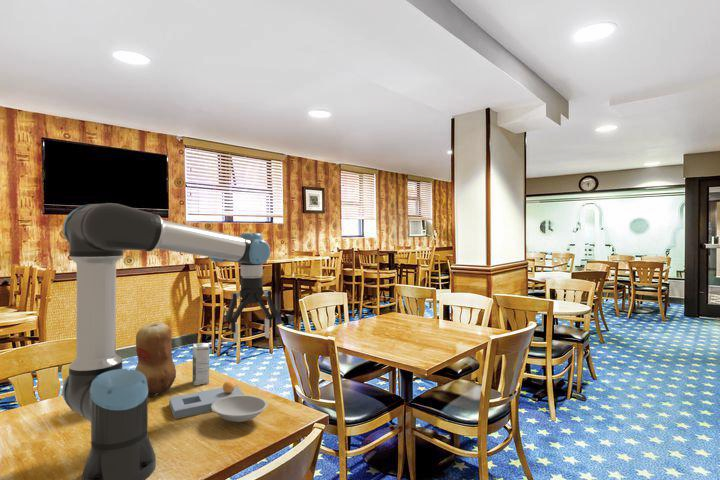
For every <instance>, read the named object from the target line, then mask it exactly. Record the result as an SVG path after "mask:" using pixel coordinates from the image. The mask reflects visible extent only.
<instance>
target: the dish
mask: <svg viewBox="0 0 720 480" xmlns="http://www.w3.org/2000/svg"><path fill="white" fill-rule="evenodd" d="M267 408H268V402H267V400H265V399H264V398H262V397H260V396H255V395H248V394H244V395H235V396H228V397H224V398H221V399H218V400H216V401H215V402H213V403H212V405H211V409H212V410H213V411H212V412H214V413H215V414H217V415H218V416H219V417H220V418H221V419H224V420H226V421H228V422H232V423H242V422H247V421H251V420H253V419H255V418H257V417H258V416H259V415H260V414H261V413H263V411H265V410H267Z"/></svg>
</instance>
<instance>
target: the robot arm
mask: <svg viewBox="0 0 720 480" xmlns="http://www.w3.org/2000/svg"><path fill="white" fill-rule="evenodd" d="M62 231H63V236H64V237H65V240H66V241H67V242H68V243H69V244H68V245H69V246H68V249H69V253H68V254H69V259H71V260H72V261H73V262H74V263H75V264H76V322H75V323H76V330H75V331H76V335H75V336H76V339H75V340H76V342H75V343H76V347H75V348H76V349H75V351H76V353H75V354H76V355H75V359H73V361H71V362H70V363H69V365H68V376H67V377H66V378H65V380H64V382H63V385H62V397H63V399H64V402H65V403H66V405H67V406H68V407H69V409H70V410H71V411H73V412H75V413H77V414H78V415H80V416H82V417H83V418H84V419H86V420H87V421H89V422H90V442H91V443H90V450H89V453H88V456H87V459H86V461H85V465H84V468H83V470H82V477H81V479H82V480H146V479H147V478H149V477H150V475H152V473H153V472H154V471H155V469H156V465H157V462H156V461H157V460H156V458H157V457H156V453H155V450H154V448H153V446H152V442H151V440H150V438H149V435H148V431H149V430H148V426H149V425H148V423H149V422H148V420H149V419H148V418H149V417H148V414H149V413H148V410H149V409H148V406H149V405H148V404H149V403H148V399H149V397H148V396H149V395H148V386H147V379H146V377H145V375H144V374H143V373H141V372H139V371H137V370H135V369H128V368H123V358H122V357H121V356H120V355H119V354H117V350H116V349H117V348H116V347H117V346H116V345H117V343H116V342H117V340H116V339H117V337H116V336H117V334H116V333H117V328H116V327H117V325H116V324H117V262H119V261H120V260H121V259H122V258H124V257H123V256H124V251H142V252H149V253H150V252H153V251H154V250H156V249H157V250H162V251H167V252H168V251H169V252H176V253H181V254H189V255H196V256H201V257H207V258H209V259H210V261H211V262H214V263H225V262H226V263H227V262H228V263H239V264H240V277H241V278H240V290H239V292H231V294H230V295H231V296H230V298H231V300H230V302H229V306H228V308H227V312H226V316H225V319H224V321H226V322H227V323H230V331H231V333H233V342H235V343H239V323H238V322H237V321H238V320H239V318H240V316H241V314H242V312H243V310H244V309H245V307H246V306H247V305H250V304H258V307H260V308H261V311H262V312H263V313H264V315H265V317H266V318H264V337H265V338H266V339H270V329H272V326H273V324H272V323H273V319H274V318H276V317H277V316H278V313H277V311H276V307H275V304H274V302H273V298H272V295H273V294H272V290H269V289H267V290H264V288H263V286H264V285H263V284H264V282H263V281H264V279H263V277H262V276H263V274H264V269H263V268H264V267H263V265H264V264H266V262H267V261H268V260H269V258H270V257H271V247H270V245H269V243H268V242H267V241H265V240H263V234H261V233H259V232H243V233H241V234H240V236H238V235H234V234H229V233H225V232H221V231H217V230H216V231H215V230H211V229H207V228H201V227H198V226H192V225H188V224H183V223H179V222H174V221H170V220H169V221H168V220H166V219H165V220H164V219H162V217H161V216H160V215H159V214H155V213H151V212H147V211H144V210H141V209H138V208H134V207H131V206H127V205H124V204H121V203H113V202H105V203H89V204H84V205H82V206H81V205H80V206H79V207H76V208H75V209H73V210H72V211H71V212H69V213H68V215H67V216H66V217H65V219H64V222H63V227H62ZM239 297H240V298H241V300H240V302H239V305H238V306H237V308H236V304H237V301H238V299H239ZM262 297H265V299H266V301H267V304H268V307H267V306H266V305H265V303H264V301H263V299H262ZM235 308H236V310H235ZM268 308H269V310H270V311H269V310H268ZM234 311H235V312H234Z"/></svg>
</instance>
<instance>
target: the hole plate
mask: <svg viewBox="0 0 720 480" xmlns="http://www.w3.org/2000/svg"><path fill="white" fill-rule="evenodd" d="M235 395H245V394H244V393H243V391H242V390H241V389H240V388H239V386H238V385H237V384H235V389H234V391H233V392H231V393H226V392H224V390H223V386H221V387H217V388H211V389H208V390H203V391H202V390H201V391H196V392H192V393H186V394H182V395H176V396H169V399H168V402H169V404H168V406H169V408H170V410H171V411H170V412H171V413H172V416H173V419H174V420H177V419H182V418H188V417H189V416H190V417H191V416H196V415H200V413H201V414H205V413H208V412H207V411H210V412H212V411H211V410H212V409H211V405H212V403H213V402H215V401H216V400H218V399H221V398H224V397H228V396H235ZM204 412H205V413H204Z"/></svg>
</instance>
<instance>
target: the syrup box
mask: <svg viewBox="0 0 720 480" xmlns="http://www.w3.org/2000/svg"><path fill="white" fill-rule="evenodd" d="M205 383H210V344H209V343H207V342H200V343H193V344H192V386H193V387H195V386H194V385H197V386H200V385H199V384H203V385H206V384H205Z"/></svg>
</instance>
